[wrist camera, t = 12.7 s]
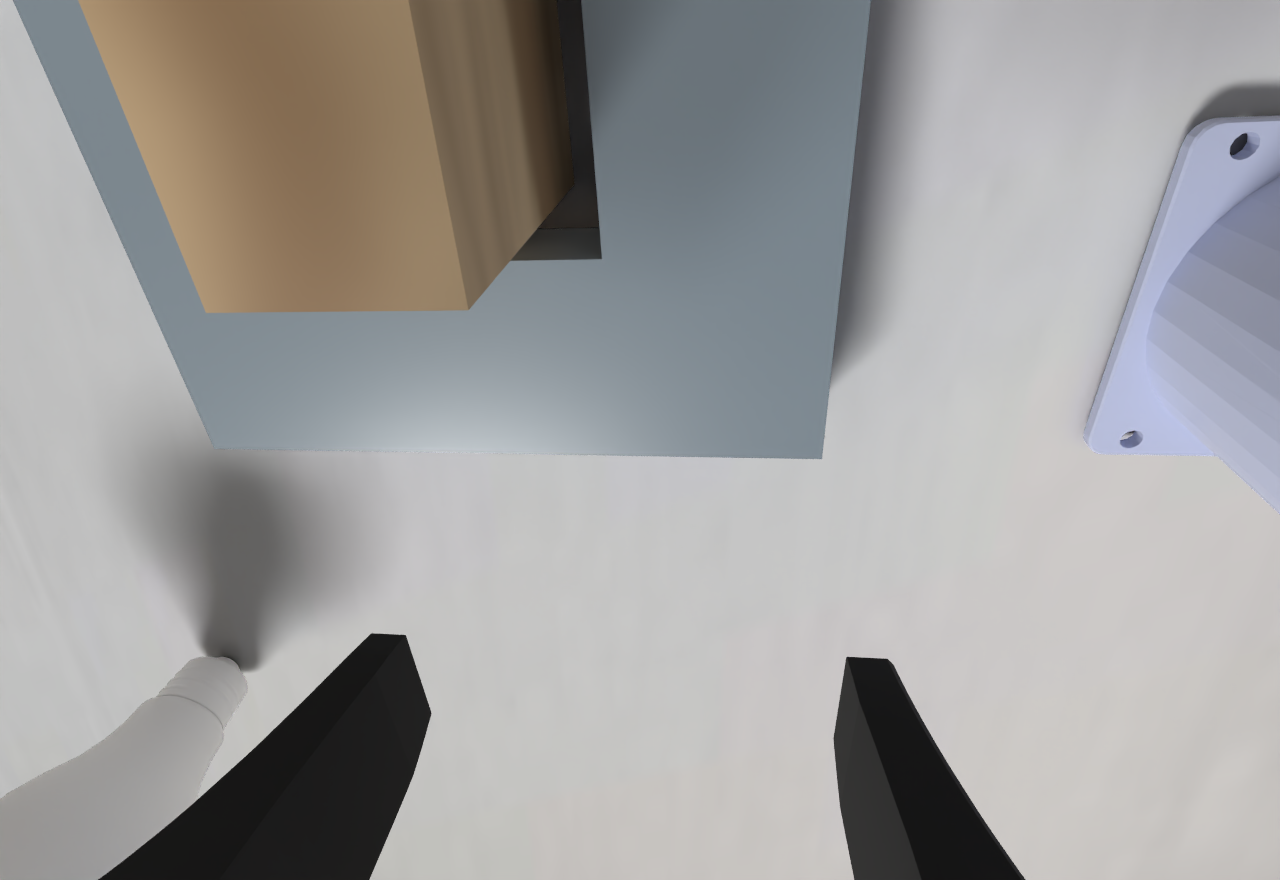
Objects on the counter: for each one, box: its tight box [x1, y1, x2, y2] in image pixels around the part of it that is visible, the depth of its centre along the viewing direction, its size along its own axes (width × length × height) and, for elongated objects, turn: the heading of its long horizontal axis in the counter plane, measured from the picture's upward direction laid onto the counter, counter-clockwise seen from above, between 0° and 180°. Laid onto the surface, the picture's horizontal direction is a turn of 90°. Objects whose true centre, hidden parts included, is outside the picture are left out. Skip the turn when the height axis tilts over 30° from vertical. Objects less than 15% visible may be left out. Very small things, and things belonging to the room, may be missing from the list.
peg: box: [78, 0, 575, 313], centre depth 12 cm, size 4×4×8 cm
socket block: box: [13, 0, 871, 459], centre depth 14 cm, size 16×16×2 cm
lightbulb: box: [0, 656, 248, 880], centre depth 23 cm, size 6×6×11 cm
